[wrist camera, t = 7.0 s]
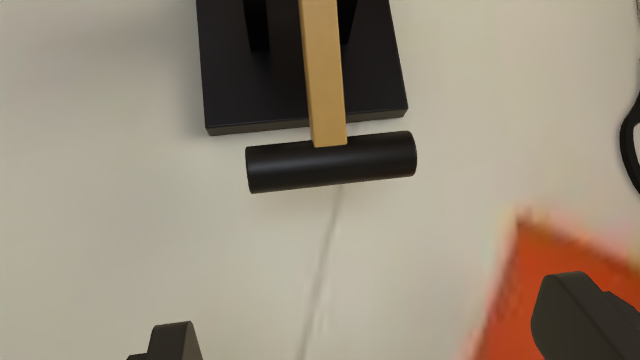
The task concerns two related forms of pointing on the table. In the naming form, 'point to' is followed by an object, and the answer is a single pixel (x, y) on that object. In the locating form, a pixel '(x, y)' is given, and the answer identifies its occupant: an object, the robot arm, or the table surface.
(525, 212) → the table surface
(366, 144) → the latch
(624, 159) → the scissors
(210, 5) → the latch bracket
